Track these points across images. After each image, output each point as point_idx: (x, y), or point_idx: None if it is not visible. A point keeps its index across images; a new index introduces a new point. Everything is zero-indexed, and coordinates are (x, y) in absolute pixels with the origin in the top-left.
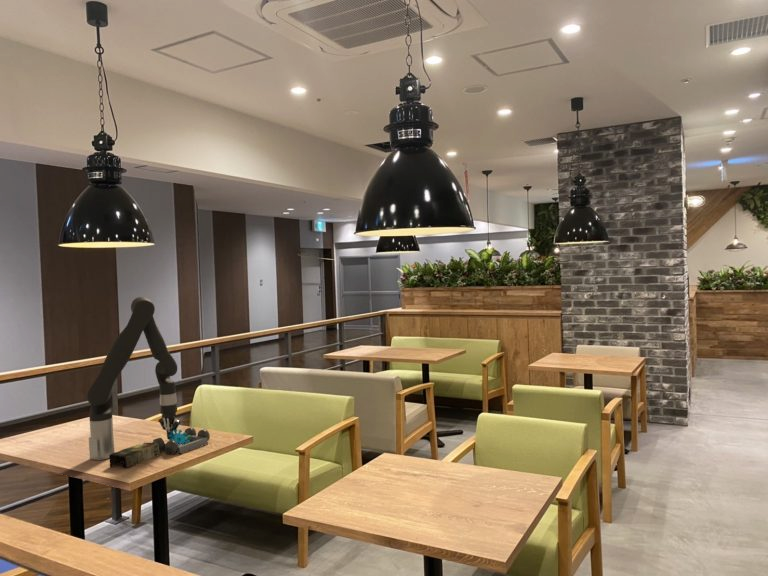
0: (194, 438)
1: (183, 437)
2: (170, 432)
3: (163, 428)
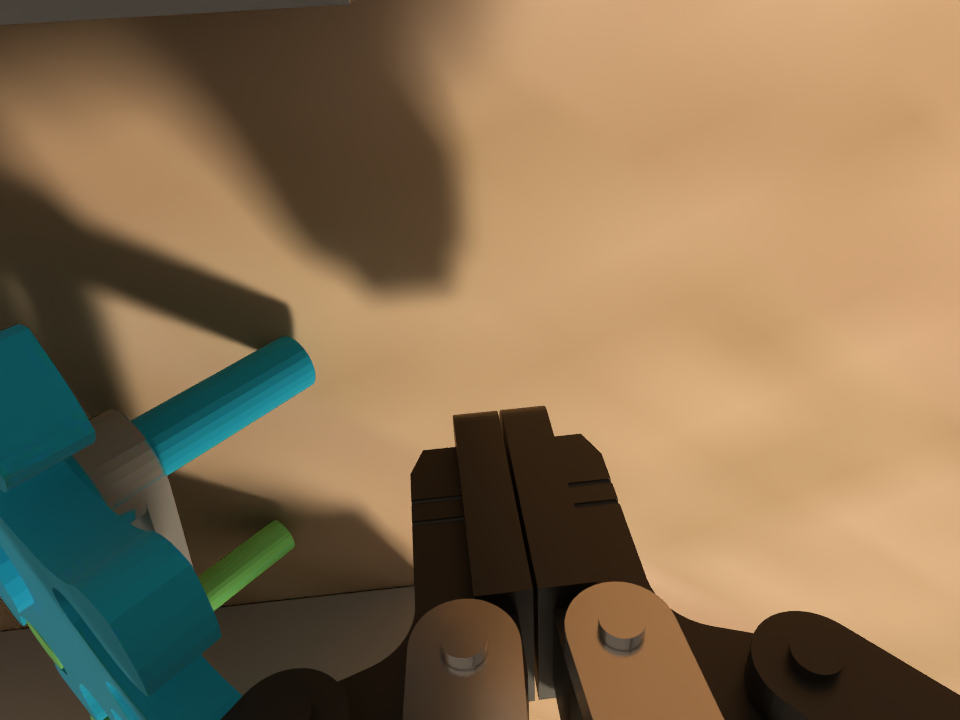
0: (55, 713)
1: (35, 622)
2: (145, 573)
3: (838, 662)
